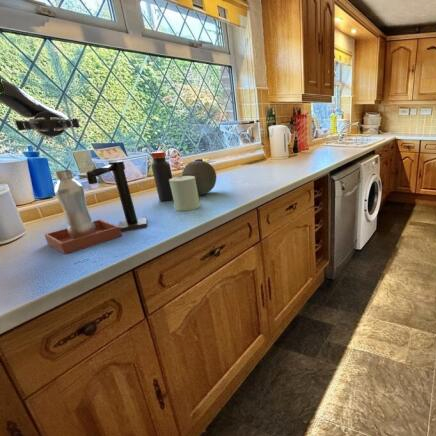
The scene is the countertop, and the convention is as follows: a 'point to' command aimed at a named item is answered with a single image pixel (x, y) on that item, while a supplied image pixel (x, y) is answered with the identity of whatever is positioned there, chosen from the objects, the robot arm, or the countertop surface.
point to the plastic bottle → (73, 205)
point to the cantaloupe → (201, 175)
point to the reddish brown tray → (67, 244)
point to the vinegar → (162, 176)
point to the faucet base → (127, 204)
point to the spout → (104, 171)
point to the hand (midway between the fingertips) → (48, 124)
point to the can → (184, 193)
